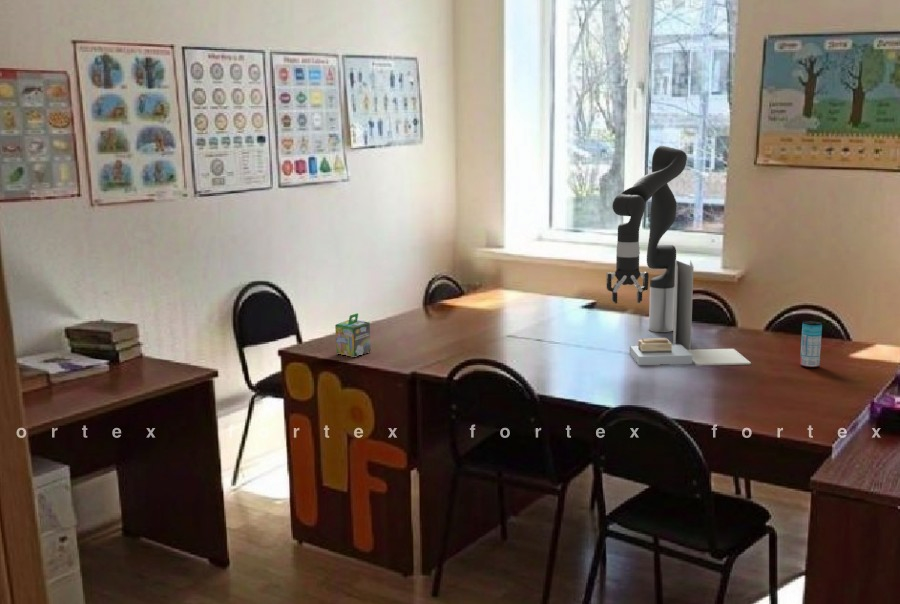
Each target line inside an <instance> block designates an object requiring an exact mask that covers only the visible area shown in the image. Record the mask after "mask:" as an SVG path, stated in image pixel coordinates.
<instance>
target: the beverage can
mask: <svg viewBox="0 0 900 604" xmlns="http://www.w3.org/2000/svg"><path fill="white" fill-rule="evenodd" d="M801 327H802V329H801V339H800V340H801V343H800V360H799V364H800V366H801V367H802V368H804V367H805V368H804V369H817V367H818V368H819V367H820V362H821V349H822V348H821V347H822V333H823V332H822V331H823V321H820V320H817V319H816V320H814V319H813V320H812V319H806V320H803V321H802V326H801Z"/></svg>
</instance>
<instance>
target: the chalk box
mask: <svg viewBox="0 0 900 604" xmlns="http://www.w3.org/2000/svg"><path fill="white" fill-rule="evenodd" d="M358 317H359V313H354V314H350V316H349V319H347V320H345V321H342V322H340V323H339V322H338V323H336V324H335V325H334V326H335V341H336V343H335V344H336V354H337V353H341V354H346V355H350V356H358V355H362V354H365V353H368V352H370V351H371V328H370V327H371V325H370V323H371V322H370V321H364V320H358ZM353 318H354V319H353ZM368 354H369V353H368ZM365 355H366V354H365ZM362 356H363V355H362Z"/></svg>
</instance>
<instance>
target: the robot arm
mask: <svg viewBox="0 0 900 604" xmlns="http://www.w3.org/2000/svg"><path fill="white" fill-rule="evenodd" d="M687 162H688V155H687V153H686V152H685V151H683V150H682V149H679V148H674V147H669V146H667V145H665V146H664V145H659V146H657V147H656V148H655V150H654V152H653V154H652V159H651V173H650V172H649V173H647V174H645V175H644V176H641V178H639V179H638V180H637V181H636V182H635V183H634V184H633V185H632V186H630V187H628V188H627V189H625V190H623V191H621V192H619V193H618V194H617V195H616V196H615V197H614V199H613V201H612V205H611V206H612V211H613V212H614V213H615V214H616V215H618V216H620V217H621V216H622V217H630V218H629V220H628V222H622V223H620V224H619V225H618V227H617V241H616V242H617V244H616V257H615V259H616V261H615V262H616V263H615V264H616V265H615V266H616V267H615V268H616V270H615V272H606V290H607V291H609V292H611V300H612V302H613V303H614V304H618V292H617V291H618V290H619V288H621V286H622V285H623V286H627V285H629V286H633V285H634V286H635V288H636V289H637V290H636V303H637V304H640V303H641V302H642V301H643V292H644V291H648V290H649V307H648V308H649V309H648V311H649V312H648V317H649V318H648V331H651V332H655V333H670V332H672V331H673V322H674V289H675V260H677V249H676V247H675V245H673V244H659V242H660V240H661V239H662V237H663V236H664V235H665V234H666V233H667V232H668V231H669V229H670V228H671V227H672V226H673V225H674V223H675V221H676V218H677V206H678V205H677V199H676V197H675V195H674V194H673V192H672V189H671V187H670V186H669V184H668V183H671V181H672V180H674V179H676V178H677V177H679V176H680V175H681V174H682V173H683V171H684V169H685V167H686V165H687ZM650 199H651V200H650ZM649 200H650V203H651V204H650V216H649V217H650V219H649V236H648V245H647V251H646V265H647V267H648V268H649V269H650V270H651V269H652V270H665V271H664V272H663V273H662V274H660V275H657V276H654V277H651V278H650V281H649V275H650V273H648V272H647V271H643V272H641V271H640V254H641V252H640V227H641V224H642V223H641V222H642V220H643V216H644V212H645V210H646V203H647V202H648V201H649ZM614 277H615V279H617V280H616V282H615V283H614V285H613V287H612V280H614ZM640 277H641V279H642V285H641V284H640V283H639V281H638V279H639V278H640Z"/></svg>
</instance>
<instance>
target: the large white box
mask: <svg viewBox="0 0 900 604" xmlns="http://www.w3.org/2000/svg"><path fill="white" fill-rule="evenodd" d="M687 350H688V349H687V348H685V347H684V346H682V345H681V344H679V343H676V345H674V344H672V353H641V351H640V350H639V349H638V345H629V355H630V354H631V355H630V357H632V359H633V358H634V359H633V360H634V361H635V363H636V362H637V363H636V364H637V365H638V366H661V365H660V364H670V365H693V361H692V354H691V353H690V352H688V351H687Z"/></svg>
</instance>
